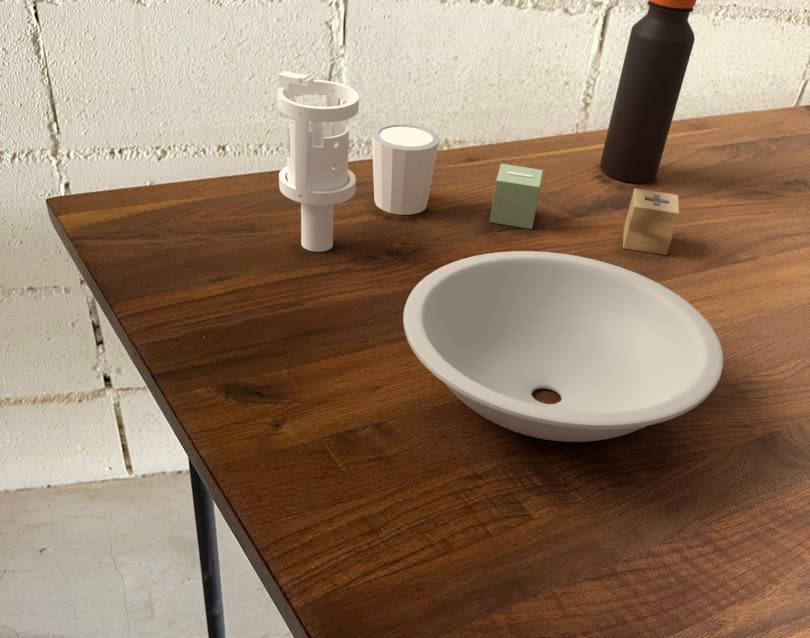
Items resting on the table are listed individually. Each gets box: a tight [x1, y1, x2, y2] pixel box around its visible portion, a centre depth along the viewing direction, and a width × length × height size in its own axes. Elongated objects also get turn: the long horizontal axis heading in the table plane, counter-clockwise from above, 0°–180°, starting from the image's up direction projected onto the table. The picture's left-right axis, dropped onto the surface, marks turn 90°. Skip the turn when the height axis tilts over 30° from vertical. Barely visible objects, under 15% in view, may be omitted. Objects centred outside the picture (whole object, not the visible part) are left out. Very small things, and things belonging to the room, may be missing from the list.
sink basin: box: [402, 250, 724, 443], centre depth 69 cm, size 24×24×7 cm
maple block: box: [622, 187, 680, 256], centre depth 91 cm, size 4×4×5 cm
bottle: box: [599, 0, 697, 184], centre depth 98 cm, size 7×7×20 cm
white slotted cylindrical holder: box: [276, 70, 360, 253], centre depth 81 cm, size 7×7×15 cm
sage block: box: [489, 163, 544, 230], centre depth 92 cm, size 4×4×5 cm
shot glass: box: [371, 123, 441, 216], centre depth 92 cm, size 7×7×7 cm
